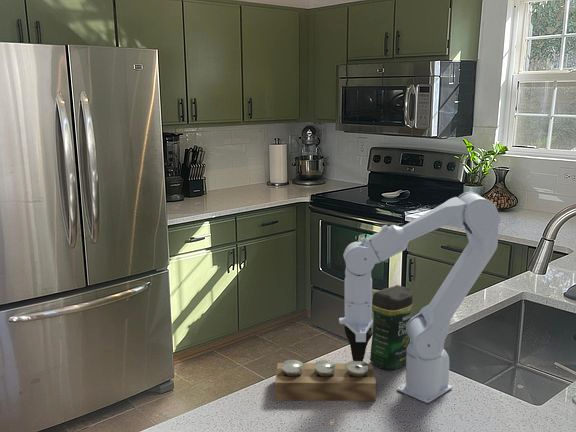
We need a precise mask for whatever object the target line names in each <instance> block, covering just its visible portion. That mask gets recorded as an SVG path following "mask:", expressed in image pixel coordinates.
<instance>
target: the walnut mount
mask: <svg viewBox="0 0 576 432" xmlns="http://www.w3.org/2000/svg"><path fill="white" fill-rule="evenodd" d="M315 363H316V362H314V363H313V362H311V363H310V362H309V363H308V362H305V363H304V362H302V364H303V372H302V374H300V377H288V376H285V374H283V372H282V364H283V362H278V363H277V365H276V366H277V367H276V372H275V380H274V391H275V392H274V397H275V398H274V401H320V402H321V401H327V402H328V401H329V402H330V401H331V402H332V401H335V402H337V401H340V402H341V401H342V402H343V401H345V402H346V401H347V402H376V400H377V380H376V377H375V373H374V367H373V363H367V364H368V373H367V375H365V377H350V375H349V374H348V373H347V364H348V363H346V362H345V363H337V362H336V363H335V373H334V374H333V375H332V377H318V375H317V374H316V373H315Z"/></svg>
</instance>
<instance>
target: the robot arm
mask: <svg viewBox="0 0 576 432" xmlns="http://www.w3.org/2000/svg"><path fill="white" fill-rule="evenodd" d="M501 221H502V218H501V216H500V213H499V211H498V208H497V206H496V205H495V204H494V202H493V201H491V200H489V199H487V198H484V197H482V196H481V195H480V194H479V193H477V192H473V191H466V192H462V193H461V194H459V195H458V197H457V196H454V197H451V198H449V199H447V200H445V202H443V203H441V204H440V205H437V206H436V207H434V208H433V209H431V210H429V211H426V213H424V214H422V215H420V216H418V217H416V218H414V219H412V220H410V221H409V222H408V223H406V224H404V225H402V226H398V225H395V224H391V225H389V226H388V225H387V224H384V225H383V226H381V227H380V228H381V230H380V231H378V232H376V233H374V234H372V235H370V236H368V237H365V236H363V237H360V241H354V242H351V243H349V244H348V245H347V246H346V248H344V252H343V254H342V255H343V259H344V262H345V270H344V275H345V277H344V317H339V318H338V324H339V325H344V334H345V337H346V339H347V340H348V343H349V346H350V351H351V352H350V353H351V358H352V361H364V359H365V355H366V351H367V347H368V343H369V341H370V339H372V334H373V330H372V327H373V320H374V318H372V317H373V308H372V299H373V278H372V270H373V268H374V267H375V265H376V264H380V263H382V262H384V261H386V260H389V258H392V257H394V256H396V255H398V254H399V253H402V252H404V251H406V250H407V248H408V245H409V242H410V241H412V240H415V239H417V238H419V237H422V236H424V235H426V234H428V233H430V232H432V231H436V230H438V229H439V228H441V227H444V226H450V227H457V228H464V231H465V234H466V236H467V240H468V243H467V244H466V246H465V248H464V249H463V251H462V252H461V254H460V255H459V257H458V259H457V260H456V262H455V263H454V265H453V266H452V268H451V270H450V271H449V273H448V274H447V276H446V277H445V279H444V280H443V282H442V284H440V287H438V290H437V291H436V293H435V294H434V296H433V298H432V299H431V300H430V301H429V304H427V305H426V306H423V307H422V308H421V309H420V311H419V312H418V313H417V314H416V315H414V316H412V317H410V320H409V321H408V323H407V326H406V332H407V334H408V336H409V338H410V343H409V345H408V346H407V353H406V365H405V382H404V383H403V384H401V385H399V386H398V387H396V390H397V391H399V392H400V393H403V394H404V395H407V396H410V397H412V398H415V399H416V400H419V401H421V402H423V403H426V404H429V403H431V402H432V401H434V400H435V399H437V398H439V397H440V396H442V395H443V394H445V393H446V392H449V390H451V389H453V385H451V384H449V379H450V357H449V354H448V353H447V351H446V349H444V348H445V340H446V338H447V337H448V335H449V333H450V325H451V319H452V318H453V316H454V315H455V313H456V312H457V311H458V309H459V307H460V306H461V304H462V303H463V301H464V300H465V298H466V297H467V295H468V294H469V292H470V290H471V289H472V287H473V286H474V284H475V283H476V281H478V279H479V277H480V275H481V274H482V272H483V271H484V269H485V268H486V266H487V264H488V263H489V262H490V261H491V258H492V257H493V255H494V254H495V252H496V251H497V248H498V246H499V245H498V244H499V243H498V242H499V225H500V224H501Z"/></svg>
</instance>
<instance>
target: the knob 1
mask: <svg viewBox="0 0 576 432" xmlns="http://www.w3.org/2000/svg"><path fill="white" fill-rule="evenodd" d="M282 363H283V364H282V372H283V374H285V376H288V377H300V374H302V372H303V364H302V363H303V362H302V361H299V360H298V359H288V360H285V361H284V362H282Z"/></svg>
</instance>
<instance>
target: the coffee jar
mask: <svg viewBox="0 0 576 432" xmlns="http://www.w3.org/2000/svg"><path fill="white" fill-rule="evenodd" d="M413 299H414V298H413V292H412V290H411V289H410V288H408V287H405V286H402V285H398V284H396V285H394V286H391V287H390V286H389V287H387V288H383V289H380V290H378V291H375V292H374V293H372V315H373V324H372V336H371V346H370V355H369V357H370V358H369V360H370V362H371V364H372V365H374V366H375V367H378V368H379V369H382V370H383V369H384V370H391V371H392V370H397V369H399V368H402V367H403V366H406V353H407V346H408V345H409V343H410V341H411V340H410V338H409V336H408V334H407V332H406V326H407V323H408V321H409V320H410V319H411V314H412V309H413V305H414V303H413V302H414V301H413Z"/></svg>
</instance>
